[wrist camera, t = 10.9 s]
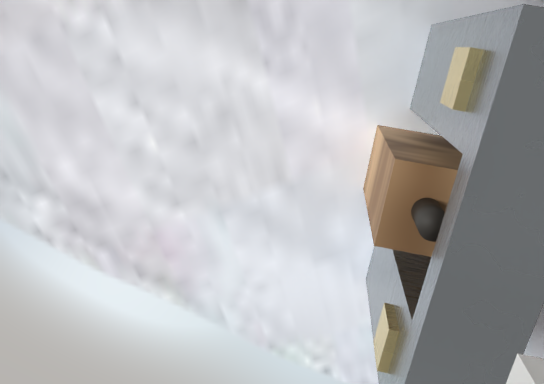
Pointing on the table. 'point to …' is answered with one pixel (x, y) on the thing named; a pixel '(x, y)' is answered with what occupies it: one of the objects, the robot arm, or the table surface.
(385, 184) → the plug
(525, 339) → the housing
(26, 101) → the table surface
